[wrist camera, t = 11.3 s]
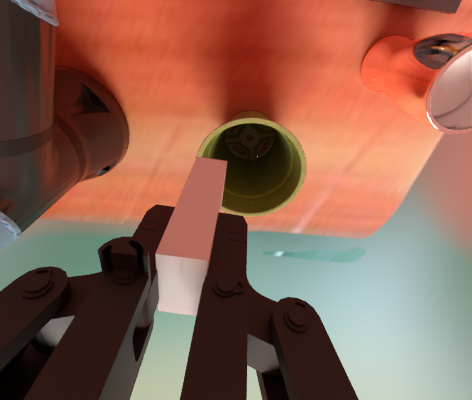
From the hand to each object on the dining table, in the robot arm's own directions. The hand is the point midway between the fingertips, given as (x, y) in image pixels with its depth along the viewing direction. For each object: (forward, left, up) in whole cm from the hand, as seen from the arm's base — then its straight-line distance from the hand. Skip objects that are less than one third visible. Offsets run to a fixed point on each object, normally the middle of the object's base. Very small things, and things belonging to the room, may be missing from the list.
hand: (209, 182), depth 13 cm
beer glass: (+18, +5, -25) cm, 31 cm away
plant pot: (+3, -6, -25) cm, 26 cm away
